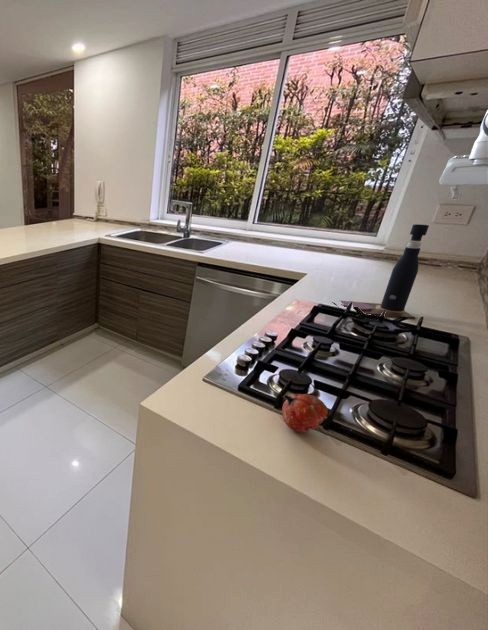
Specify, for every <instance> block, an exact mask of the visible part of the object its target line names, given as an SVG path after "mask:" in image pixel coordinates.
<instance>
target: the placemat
mask: <svg viewBox="0 0 488 630" xmlns="http://www.w3.org/2000/svg"><path fill="white" fill-rule="evenodd" d="M340 301H341V302H345V301H346V300H340ZM359 302H360V303H364V304H368V305H370V306H372V310H370V311H363V312H364V313H366V314H371V315H376V316H375V317H381V316H380V315H381V313H382V312H383V311H384V310H386V309H383V308H381V307H380V306H381V303H377V302H365V301H364V302H362V301H359ZM402 316H407V317H408V320H409V319H410V320H415V319H416V316H414V315H413V314H410V313H409V312H407V311H406V310H405V309H404V311H391V310H386V313H385V317H384V318H397V319H400V318H399V317H402Z"/></svg>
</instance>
